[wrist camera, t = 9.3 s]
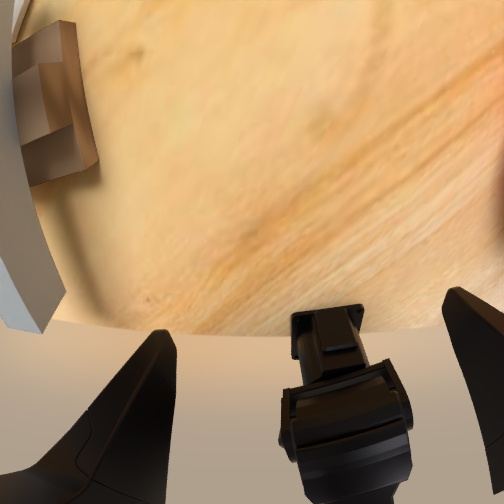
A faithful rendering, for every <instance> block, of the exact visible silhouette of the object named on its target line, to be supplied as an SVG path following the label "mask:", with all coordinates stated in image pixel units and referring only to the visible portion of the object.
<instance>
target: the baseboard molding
mask: <svg viewBox="0 0 504 504" xmlns="http://www.w3.org/2000/svg"><path fill="white" fill-rule="evenodd" d="M30 1H31V0H15V3H14V12H13V24H12V43H16V40H17V37H18V33H19V30H20V27H21V25H22V22H23V19H24V16H25V14H26V11H27V8H28V6H29V4H30Z"/></svg>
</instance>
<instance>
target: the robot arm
mask: <svg viewBox="0 0 504 504" xmlns="http://www.w3.org/2000/svg"><path fill="white" fill-rule="evenodd" d="M358 309H359V310H358ZM363 314H364V307H363V305H362V304H355V305H348V306H341V307H334V308H327V309H320V310H312V311H304V312H296V313H293V314H292V315H291V355H292V359H294V360H299V361H300V367H301V373H302V379H303V386H300V387H296V388H291V389H290V388H287V389H283V398H281V428H280V434H279V439H278V442H279V445H280V446H281V447H282V448H284V449H285V450H286V453H287V455H288V458H289V460H290V461H291V462H292V463H294V462H297V464H298V468H299V472H300V476H301V480H302V483H303V486H304V492H305V495H306V497H307V498H308V499H309V500H310V501H311V502H312V503H313V504H394V500H393V496H394V494H395V492H396V490H397V488H398V486H399V484H400V483H401V482H403V481H406V480H408V478H409V475H410V472H411V469H412V460H411V450H410V444H409V437H408V431H409V430H411V429H413V414H412V409H411V405H410V401H409V398H408V395H407V393H406V391H405V389H404V387H403V385H402V383H401V381H400V379H399V377H398V375H397V373H396V371H395V369H394V367H393V365H392V363H391V361H390V359H389V358H388V359H385V360H383V361H382V362H380V363H377V364H374V365H371V366H370V365H369V362H368V359H367V356H366V353H365V350H364V347H363V344H362V341H361V339H360V336H359V331H360V327H361V323H362V318H363ZM442 315H443V317H444V320H445V323H446V326H447V330H448V332H449V336H450V339H451V342H452V346H453V349H454V352H455V354H456V357H457V359H458V362H459V365H460V368H461V370H462V373H463V376H464V378H465V381H466V384H467V387H468V390H469V393H470V396H471V399H472V402H473V405H474V409H475V412H476V415H477V419H478V422H479V426H480V430H481V434H482V438H483V441H484V446H485V451H486V456H487V460H488V465H489V471H490V476H491V482H492V489H493V494H494V495H495V494H497V493H499V492H501V491H504V313H502V312H500V311H499V310H497V309H496V308H494V307H493V306H491V305H489V304H488V303H486V302H484V301H483V300H481V299H480V298H478V297H476V296H475V295H473V294H471V293H470V292H468V291H466V290H464V289H463V288H461V287H453V288H450V289H449V290H448V291H447V293H446V296H445V299H444V302H443V305H442ZM176 365H177V350H176V346H175V344H174V342H173V340H172V338H171V336H170V333H169V332H168V330H166V329H160V330H154V331H153V332H152V333H151V334H150V335H149V336H148V337H147V339H146V340H145V341H144V342H143V343H142V345H141V346H140V347H139V348H138V349H137V350H136V351H135V353H134V354H133V355H132V356H131V357H130V358H129V360H128V361H127V362H126V363H125V364H124V366H123V367H122V368H121V369H120V370H119V371H118V373H117V374H116V375H115V376H114V378H113V379H112V380H111V381H110V382H109V383H108V385H107V386H106V387H105V388H104V389H103V391H102V392H101V393H100V394H99V395H98V396H97V398H96V399H95V400H94V401H93V403H92V404H91V405H90V406H89V407H88V410H86V411H85V412H84V413H83V415H82V416H81V417H80V418H79V419H78V421H77V422H76V423H75V424H74V425H73V426H72V428H71V429H70V430H69V431H68V432H67V433H66V434H65V435H64V436H63V437H62V438H61V439H60V440H59V441H58V442H57V443H56V444H55V445H54V446H53V447H52V448H51V449H50V450H49V451H48V452H47V453H46V454H45V455H44V456H43V457H42V458H41V459H40V460H39V461H38V462H37V463H36V464H34V465H33V466H31V467H29V468H27V469H25V470H22V471H17V472H13V473H8V474H4V475H0V504H165V500H166V487H167V474H168V463H169V453H170V441H171V433H172V425H173V416H174V408H175V399H176Z"/></svg>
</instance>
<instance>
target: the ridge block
mask: <svg viewBox="0 0 504 504" xmlns="http://www.w3.org/2000/svg"><path fill="white" fill-rule="evenodd" d="M12 85H13V98H14V108H15V116H16V124H17V130H18V137H19V142H20V148H21V153H22V158H23V163H24V167H25V172H26V176H27V180H28V184H29V187H32V186H35V185H38V184H41V183H44V182H47V181H50V180H53V179H56V178H59V177H63V176H66V175H69V174H72V173H76V172H79V171H83V170H86V169H87V168H89V167H90V166H91V165H93V164H94V163H96V162H97V161H98V160H99V158H98V154H97V150H96V146H95V142H94V138H93V133H92V129H91V124H90V120H89V115H88V110H87V105H86V100H85V94H84V89H83V83H82V76H81V70H80V62H79V55H78V46H77V36H76V25H75V23H73V22H67V21H62V20H58V21H56V22H54V23H53V24H51V25H49V26H47V27H45V28H44V29H42V30H40V31H39V32H37V33H35V34H34V35H32V36H30V37H29V38H27V39H26V40H24V41H23V42H21V43H20V44H18V45H17V46H15V47H14V48H12Z"/></svg>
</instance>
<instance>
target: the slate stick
mask: <svg viewBox="0 0 504 504" xmlns="http://www.w3.org/2000/svg"><path fill="white" fill-rule="evenodd" d="M14 3H15V0H0V316H1V318H2V320H3V321H4V323H5V324H6V326H7V327H8V328H11V329H16V330H21V331H26V332H32V333H37V334H43V332H44V330H45V328H46V326H47V325H48V323H49V321H50V319H51V317H52V315H53V314H54V312H55V310H56V308H57V307H58V305H59V303H60V302H61V300H62V298H63V296H64V295H65V293H66V289H65V287H64V285H63V282H62V280H61V278H60V275H59V273H58V271H57V268H56V266H55V263H54V261H53V258H52V256H51V253H50V251H49V248H48V245H47V242H46V240H45V237H44V234H43V231H42V228H41V225H40V222H39V219H38V216H37V213H36V209H35V206H34V202H33V199H32V195H31V192H30V188H29V184H28V180H27V176H26V172H25V167H24V163H23V158H22V153H21V148H20V142H19V137H18V130H17V124H16V116H15V108H14V98H13V85H12V24H13V12H14Z"/></svg>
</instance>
